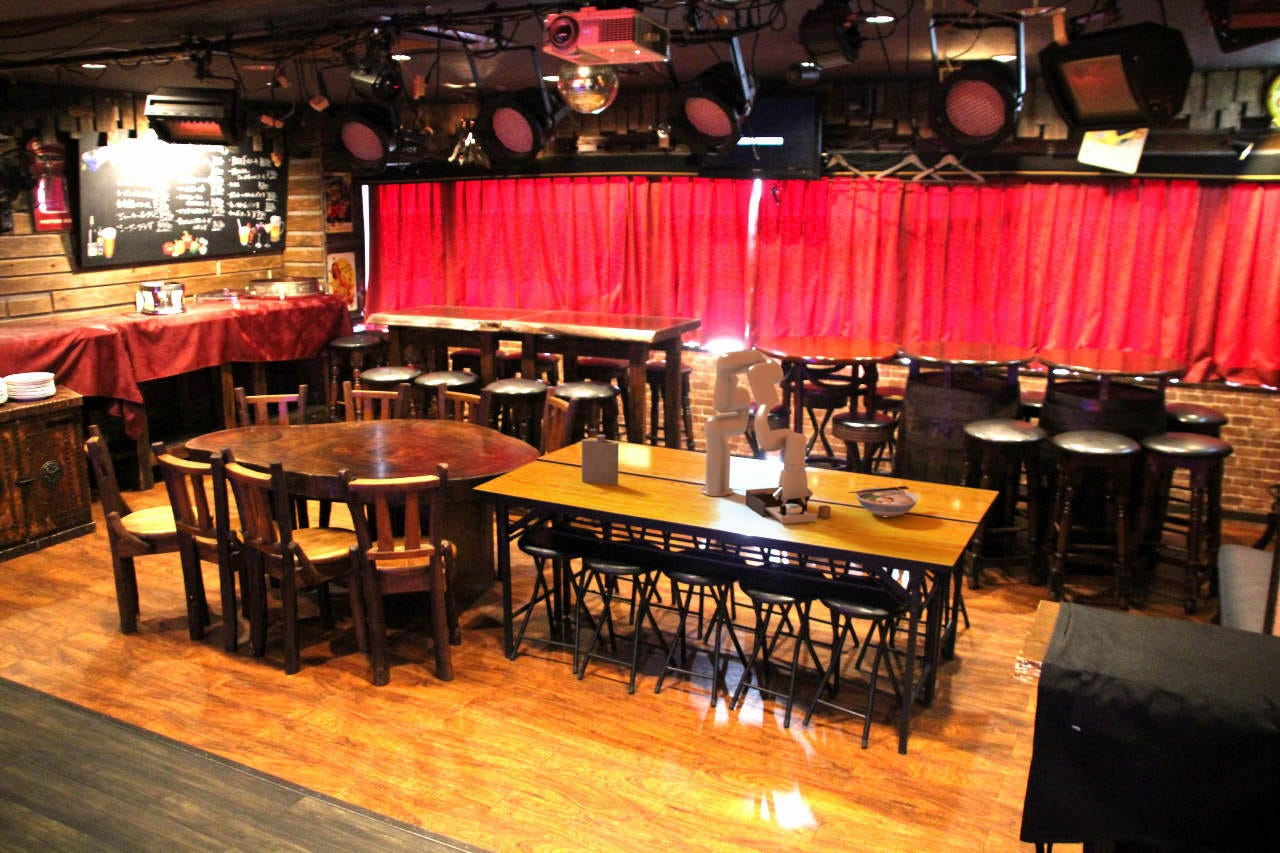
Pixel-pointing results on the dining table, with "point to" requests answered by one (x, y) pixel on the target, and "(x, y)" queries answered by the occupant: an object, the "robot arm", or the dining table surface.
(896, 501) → the ramen bowl
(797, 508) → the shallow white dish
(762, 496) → the tray
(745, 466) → the dining table surface
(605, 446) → the hip flask
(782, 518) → the tray
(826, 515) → the brown cube
